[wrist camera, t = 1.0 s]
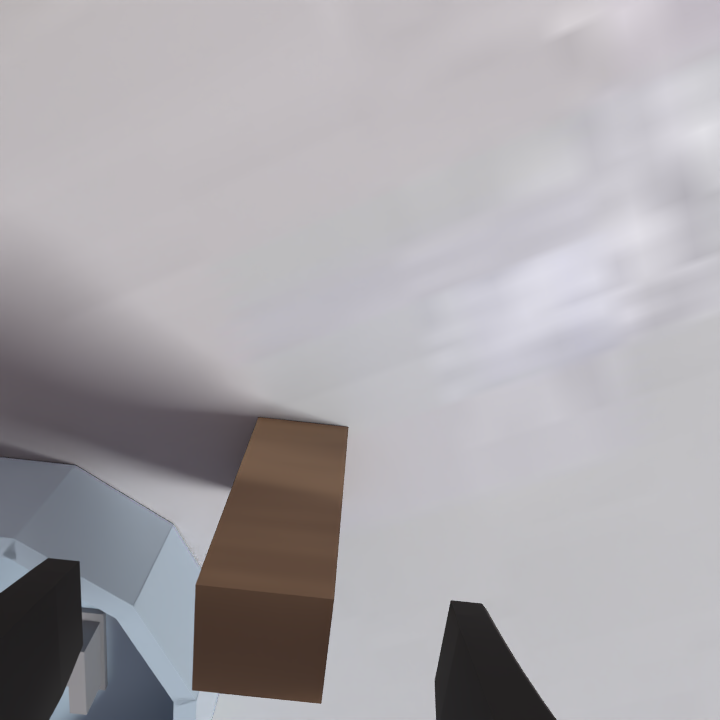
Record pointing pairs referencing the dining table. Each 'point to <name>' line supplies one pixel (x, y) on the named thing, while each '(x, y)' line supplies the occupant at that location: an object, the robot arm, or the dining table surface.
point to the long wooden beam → (273, 567)
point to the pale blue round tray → (109, 591)
